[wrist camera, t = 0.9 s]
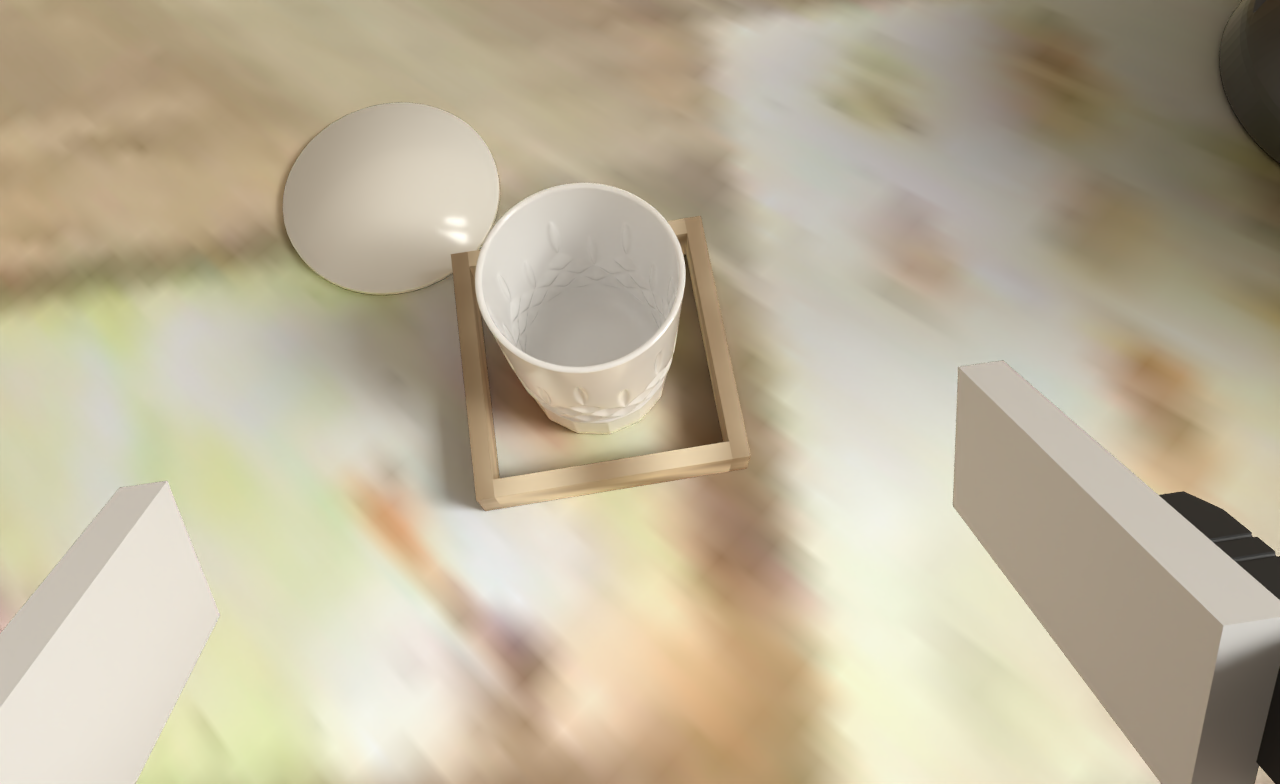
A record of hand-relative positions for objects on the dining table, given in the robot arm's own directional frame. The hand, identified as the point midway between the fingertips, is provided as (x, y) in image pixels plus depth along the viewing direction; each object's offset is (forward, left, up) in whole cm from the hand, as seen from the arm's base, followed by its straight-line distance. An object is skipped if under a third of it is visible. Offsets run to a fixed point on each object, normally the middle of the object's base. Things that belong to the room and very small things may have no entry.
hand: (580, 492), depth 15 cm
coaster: (+9, -23, -26) cm, 36 cm away
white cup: (0, -12, -26) cm, 29 cm away
